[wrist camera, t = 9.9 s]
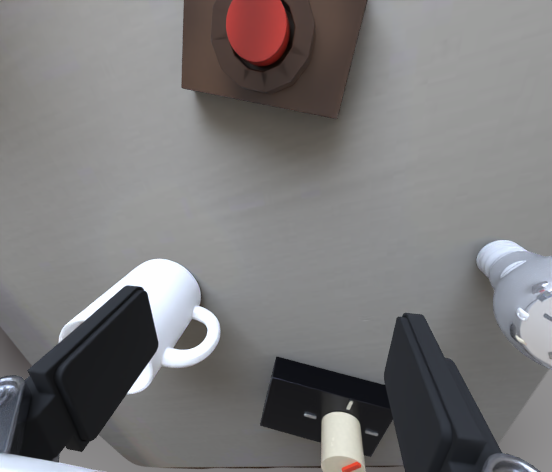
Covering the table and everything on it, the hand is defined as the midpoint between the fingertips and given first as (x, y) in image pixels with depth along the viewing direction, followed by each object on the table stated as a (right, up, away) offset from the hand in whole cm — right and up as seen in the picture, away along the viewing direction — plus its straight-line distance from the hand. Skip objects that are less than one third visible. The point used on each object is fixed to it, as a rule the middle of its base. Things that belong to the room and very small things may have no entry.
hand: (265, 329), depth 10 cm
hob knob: (+8, -18, +22) cm, 29 cm away
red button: (-1, +16, +7) cm, 18 cm away
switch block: (0, +18, +10) cm, 21 cm away
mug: (-10, -3, +22) cm, 24 cm away
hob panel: (+6, -17, +25) cm, 30 cm away
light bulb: (+19, +2, +14) cm, 24 cm away
